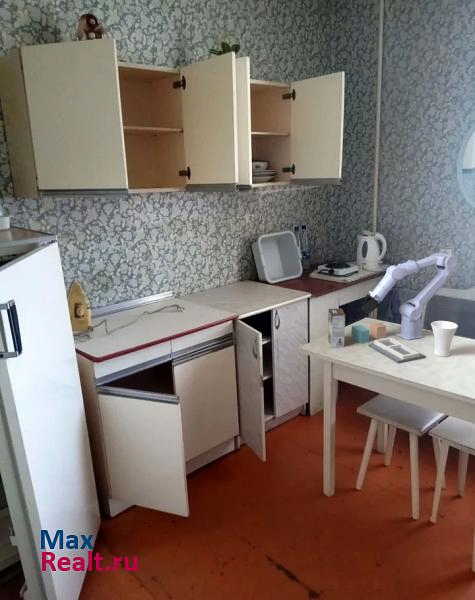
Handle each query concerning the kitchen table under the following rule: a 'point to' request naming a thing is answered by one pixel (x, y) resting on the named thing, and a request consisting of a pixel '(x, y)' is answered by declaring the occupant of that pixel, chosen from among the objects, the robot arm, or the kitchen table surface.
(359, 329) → the teal bar
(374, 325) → the terracotta block
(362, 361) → the kitchen table surface
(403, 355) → the shape board
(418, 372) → the kitchen table surface
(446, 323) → the cup
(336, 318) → the coffee box
